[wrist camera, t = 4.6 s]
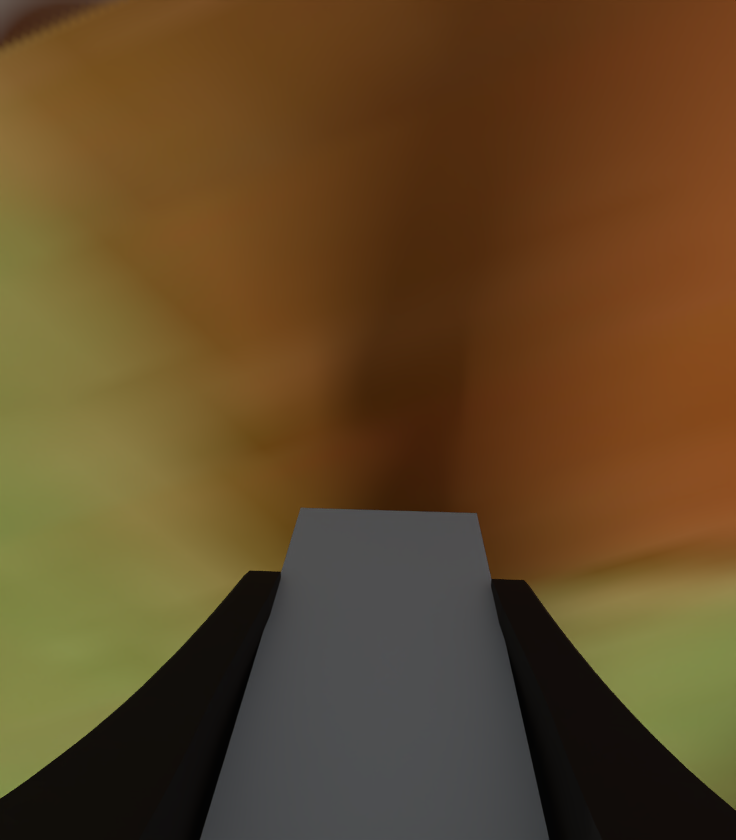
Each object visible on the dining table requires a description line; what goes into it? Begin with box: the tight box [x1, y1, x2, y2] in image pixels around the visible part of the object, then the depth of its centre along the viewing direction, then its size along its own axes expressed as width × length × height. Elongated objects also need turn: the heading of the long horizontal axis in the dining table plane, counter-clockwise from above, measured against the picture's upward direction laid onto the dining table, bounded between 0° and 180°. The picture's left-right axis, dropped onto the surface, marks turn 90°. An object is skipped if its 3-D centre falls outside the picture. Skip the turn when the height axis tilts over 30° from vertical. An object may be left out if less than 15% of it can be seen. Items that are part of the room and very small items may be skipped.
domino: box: [200, 508, 549, 840], centre depth 10 cm, size 4×2×8 cm, turn 90°
